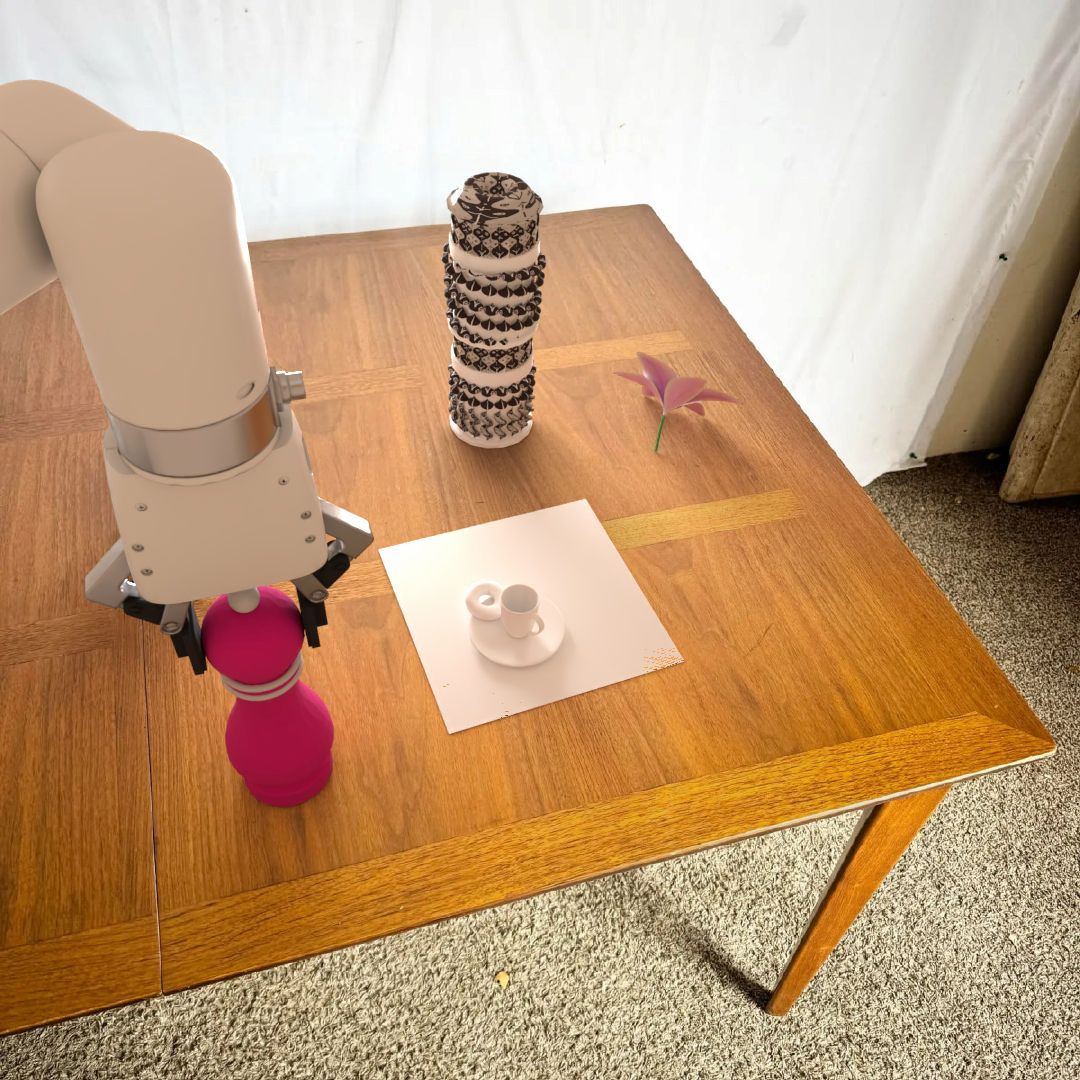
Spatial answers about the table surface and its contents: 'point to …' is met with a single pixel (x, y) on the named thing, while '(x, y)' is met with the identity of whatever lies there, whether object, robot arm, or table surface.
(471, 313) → the patterned beaded cylinder
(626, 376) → the lily
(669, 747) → the table surface
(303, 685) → the pepper mill
